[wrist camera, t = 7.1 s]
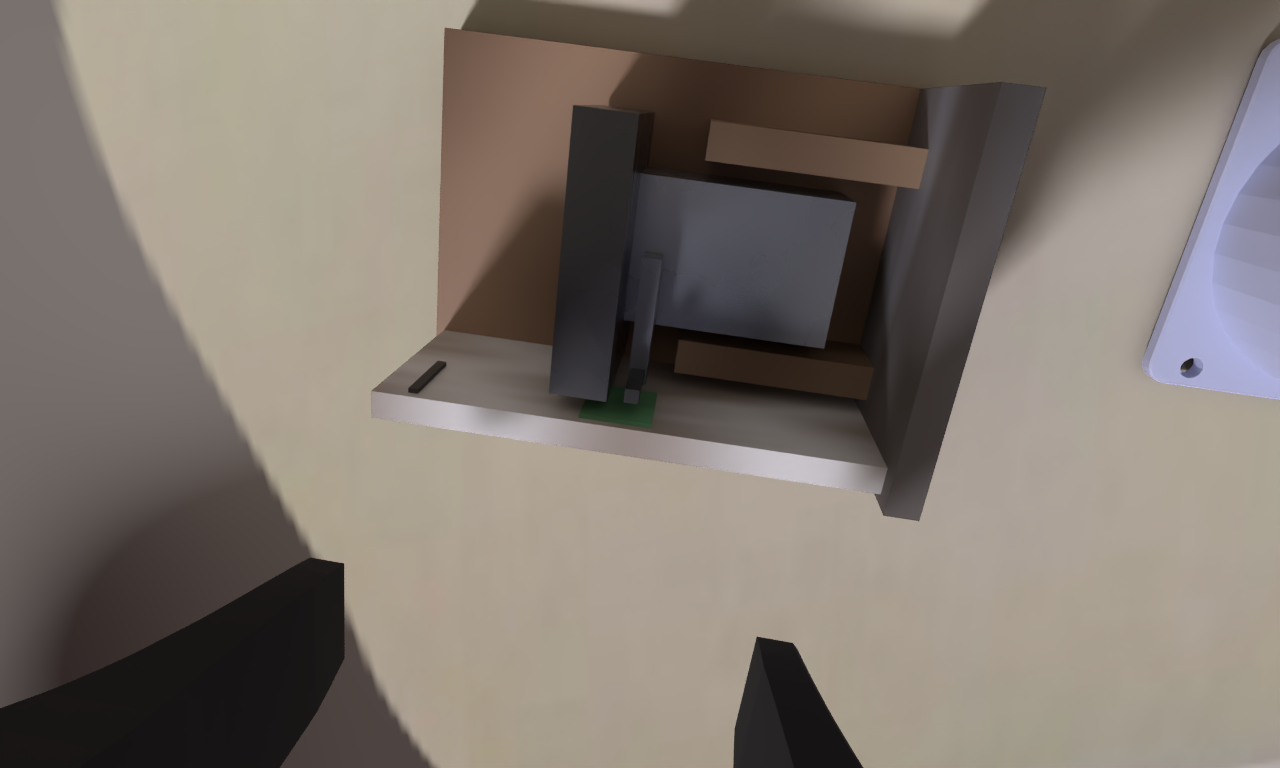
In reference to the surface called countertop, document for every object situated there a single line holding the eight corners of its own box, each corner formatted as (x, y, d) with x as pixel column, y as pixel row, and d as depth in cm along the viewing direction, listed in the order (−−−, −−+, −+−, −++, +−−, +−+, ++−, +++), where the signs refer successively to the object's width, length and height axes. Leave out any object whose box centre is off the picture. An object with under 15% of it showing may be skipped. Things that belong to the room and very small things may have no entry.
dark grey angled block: (852, 138, 17) (892, 147, 13) (802, 369, 19) (825, 434, 15) (603, 105, 17) (573, 104, 13) (580, 337, 19) (548, 393, 15)
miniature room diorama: (939, 93, 18) (1046, 87, 12) (862, 406, 20) (919, 521, 15) (458, 31, 18) (344, -2, 12) (448, 346, 21) (351, 434, 15)
